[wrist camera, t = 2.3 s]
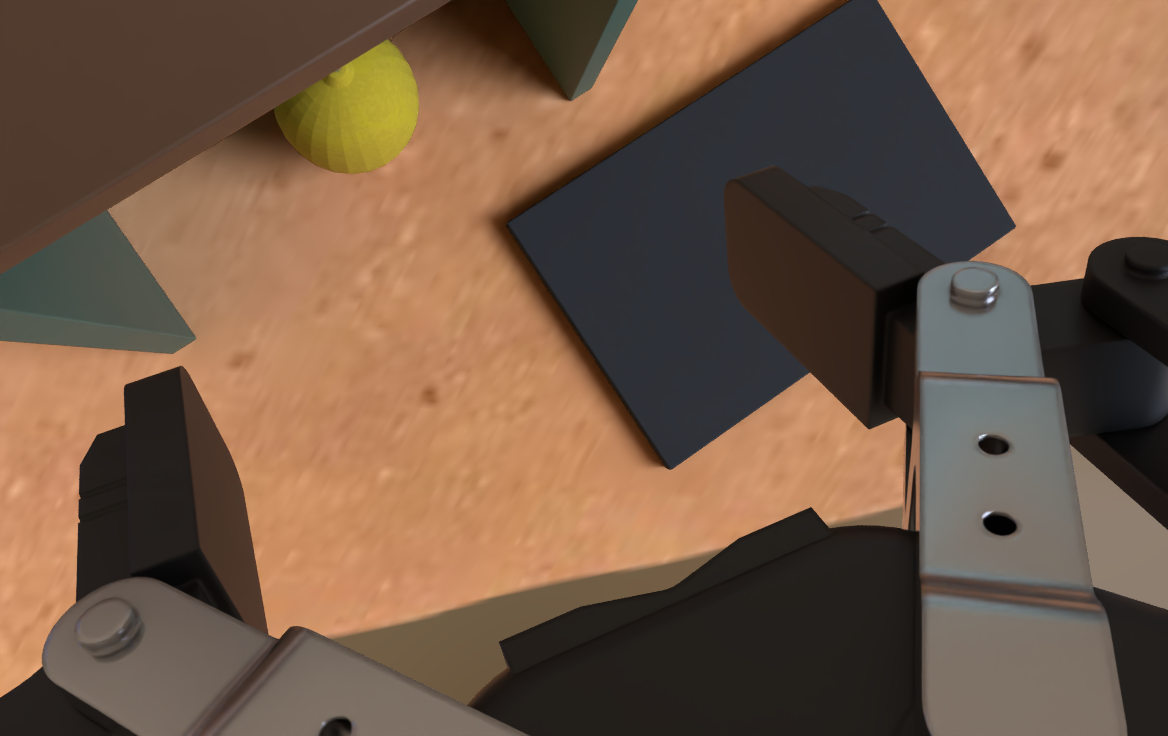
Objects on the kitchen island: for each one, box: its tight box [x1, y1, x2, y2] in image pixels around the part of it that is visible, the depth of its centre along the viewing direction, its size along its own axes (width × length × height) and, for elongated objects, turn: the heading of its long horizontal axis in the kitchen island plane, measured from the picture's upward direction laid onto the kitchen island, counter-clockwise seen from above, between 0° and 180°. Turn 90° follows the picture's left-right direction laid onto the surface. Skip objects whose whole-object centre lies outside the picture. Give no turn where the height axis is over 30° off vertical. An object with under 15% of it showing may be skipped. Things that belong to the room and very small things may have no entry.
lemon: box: [274, 39, 419, 174], centre depth 38 cm, size 6×6×8 cm
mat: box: [506, 0, 1016, 470], centre depth 44 cm, size 20×13×1 cm, turn 124°
